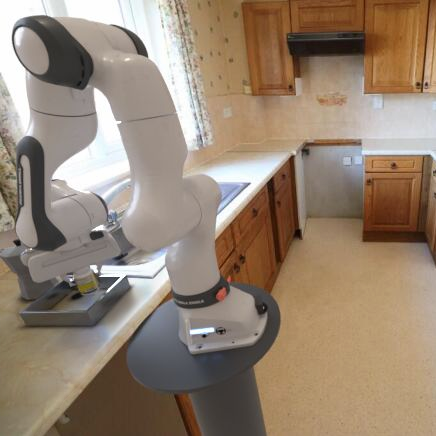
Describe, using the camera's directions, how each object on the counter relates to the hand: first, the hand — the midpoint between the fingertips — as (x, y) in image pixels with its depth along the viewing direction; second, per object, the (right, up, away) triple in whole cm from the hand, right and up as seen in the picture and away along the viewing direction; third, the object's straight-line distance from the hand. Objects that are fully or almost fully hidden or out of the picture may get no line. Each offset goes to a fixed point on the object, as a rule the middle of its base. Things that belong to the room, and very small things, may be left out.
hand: (86, 280), depth 92 cm
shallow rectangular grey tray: (-2, -7, +1) cm, 7 cm away
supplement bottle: (0, -3, +2) cm, 4 cm away
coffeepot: (-18, -5, +8) cm, 21 cm away
